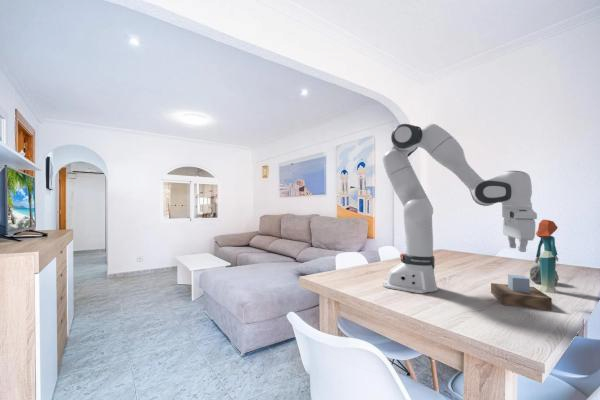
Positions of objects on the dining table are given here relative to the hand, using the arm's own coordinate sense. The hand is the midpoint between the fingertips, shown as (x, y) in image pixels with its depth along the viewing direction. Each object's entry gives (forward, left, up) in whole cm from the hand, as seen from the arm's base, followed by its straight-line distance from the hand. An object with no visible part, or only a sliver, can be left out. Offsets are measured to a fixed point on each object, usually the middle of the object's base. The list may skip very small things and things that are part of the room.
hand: (517, 249), depth 101 cm
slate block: (0, 0, -15) cm, 15 cm away
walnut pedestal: (0, 0, -19) cm, 19 cm away
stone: (+20, +34, -19) cm, 44 cm away
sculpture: (+16, +20, -19) cm, 32 cm away
